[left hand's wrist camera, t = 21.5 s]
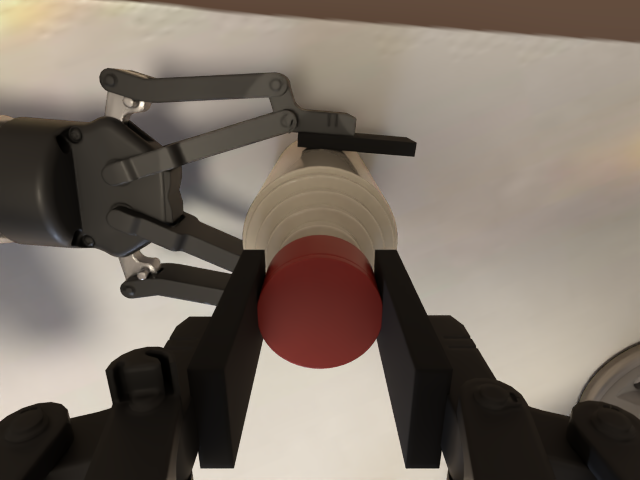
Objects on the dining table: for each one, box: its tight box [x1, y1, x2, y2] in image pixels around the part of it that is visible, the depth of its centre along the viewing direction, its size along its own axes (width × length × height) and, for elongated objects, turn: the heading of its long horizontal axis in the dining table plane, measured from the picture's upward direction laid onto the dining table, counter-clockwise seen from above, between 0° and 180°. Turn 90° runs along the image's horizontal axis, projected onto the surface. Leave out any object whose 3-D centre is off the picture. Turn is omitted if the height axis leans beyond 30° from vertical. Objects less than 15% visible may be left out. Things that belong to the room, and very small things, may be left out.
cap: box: [257, 235, 383, 369], centre depth 14 cm, size 4×4×2 cm
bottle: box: [243, 140, 397, 272], centre depth 22 cm, size 7×7×19 cm
